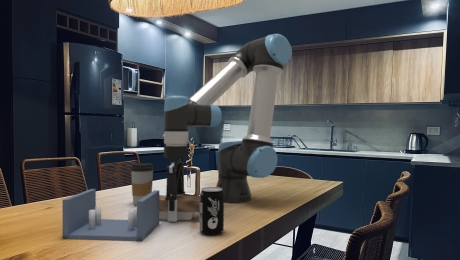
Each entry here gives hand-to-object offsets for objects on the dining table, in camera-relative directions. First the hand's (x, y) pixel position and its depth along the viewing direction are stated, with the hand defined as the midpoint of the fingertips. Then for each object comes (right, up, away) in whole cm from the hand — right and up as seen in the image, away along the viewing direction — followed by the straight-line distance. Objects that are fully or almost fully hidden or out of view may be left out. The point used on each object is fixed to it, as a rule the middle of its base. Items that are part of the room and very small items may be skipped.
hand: (175, 217), depth 105 cm
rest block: (0, 0, 0) cm, 0 cm away
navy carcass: (-15, 0, -13) cm, 20 cm away
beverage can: (+12, -1, -14) cm, 18 cm away
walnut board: (0, +3, 0) cm, 3 cm away
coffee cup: (-16, 0, +19) cm, 25 cm away
